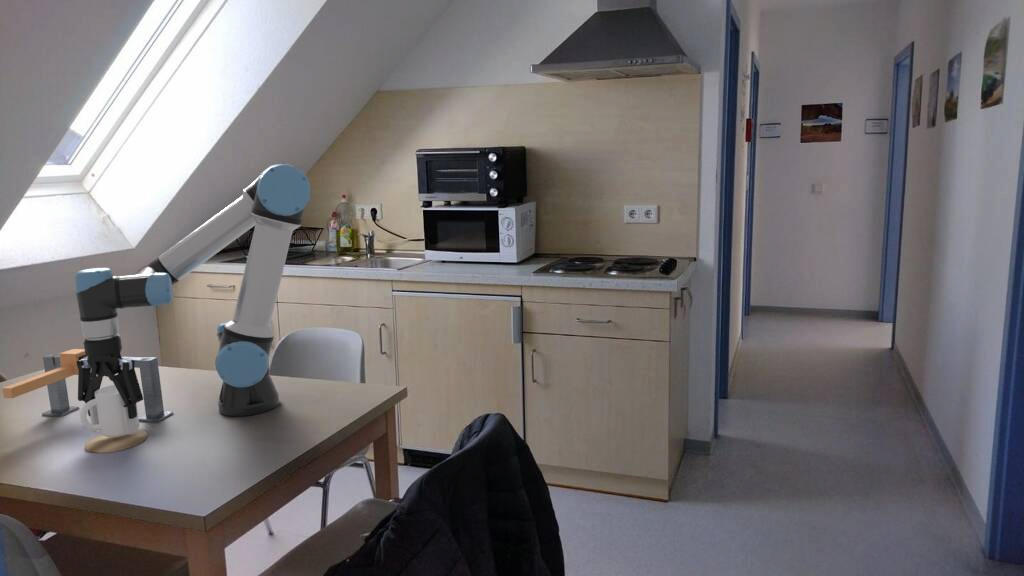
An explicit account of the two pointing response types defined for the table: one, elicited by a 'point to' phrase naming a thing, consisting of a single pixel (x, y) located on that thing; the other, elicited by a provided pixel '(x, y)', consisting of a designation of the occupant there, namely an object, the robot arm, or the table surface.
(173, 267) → the robot arm
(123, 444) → the coaster
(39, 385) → the orange bar
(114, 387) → the mug
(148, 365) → the rail frame
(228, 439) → the table surface
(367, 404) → the table surface
